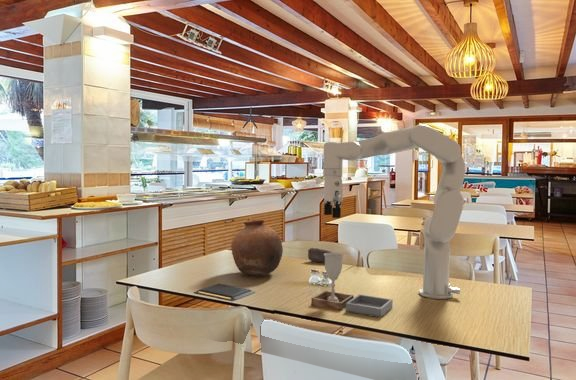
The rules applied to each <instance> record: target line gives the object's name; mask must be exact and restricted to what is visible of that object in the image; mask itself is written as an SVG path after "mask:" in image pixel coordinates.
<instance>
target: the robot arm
mask: <svg viewBox="0 0 576 380" xmlns="http://www.w3.org/2000/svg"><path fill="white" fill-rule="evenodd" d="M415 149H422V150H423V151H425V152H426V153H428V154H430V155H432V156H433V157H435V159H436V160H437V161H438V162H439V163H440V164H441V174H440V178H439V182H438V185H437V188H436V191H435V194H434V196H433V203H434V209H433V212H432V214H431V215H429V216H428V217H427V218H426V220H425V222H424V227H423V237H424V238H423V239H424V241H423V242H424V245H423V247H424V248H423V249H424V251H423V274H422V275H423V276H422V277H423V280H422V281H423V282H422V288H420V289H418V294H419V295H420V296H422V297H424V298H429V299H436V300H446V299H451V298H452V297H453V294H457V295H460V294H461V289H460V288H458V287H453V286H452V285H451V284H452V283H450V262H451V261H450V260H451V259H450V258H451V257H450V256H451V239H452V238H453V237H454V236H455V234H456V232H457V228H458V225H459V222H460V219H461V215H462V212H463V209H464V197H463V195H462V194H461V193H462V188H463V183H464V180H465V176H466V162H465V160H464V156H463V155H462V154H461V153H462V148H461V145H460V144H459V143H458V141H456V140H455V139H452V138H450V137H449V136H447V135H445V134H444V133H442V132H440V131H438V130H436V129H434V128H433V127H431V126H430V125H428V124H424V123H421V124H420V123H419V124H417V125H415V126H414V125H413V126H410V127H406V128H405V127H404V128H401V129H396V130H391V131H387V132H383V133H381V134H379V135H377V136H373V137H369V138H364V139H362V140H356V141H345V142H340V141H328V142H326V141H325V143H323V169H322V170H323V171H322V172H323V173H322V177H324V184H323V206H324V207H323V208H324V209H323V215H325V216H331V215H332V218H333V219H340V218H341V215H342V214H341V209H342V202H343V200H344V196H343V195H344V193H343V187H344V186H343V180H342V179H343V178H342V177H343V160H344V161H351V162H354V161H355V162H356V161H358V160H363V159H366V158H367V159H368V158H372V157H377V156H386V155H392V154H396V153H401V152H405V151H409V150H410V151H411V150H415Z"/></svg>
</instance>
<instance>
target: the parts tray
mask: <svg viewBox="0 0 576 380" xmlns="http://www.w3.org/2000/svg"><path fill="white" fill-rule="evenodd" d="M393 302H394V301H393V299H391V298H386V297H385V298H384V297H379V296H372V295H366V294H357V295H356V296H354V298H353V299H351V300H350V301H348V302H347V303H346V307H345V312H346V311H347V312H346V313H350V312H353V313H352V314H356V313H359V314H358V315H361V314H365V315H364V316H367V315H372V316H371V317H373V316H377V317H376V318H378V317H382V316H383V315H384V314H385V313H386V314H387V313H389V312H390V311H391V310H392V309H393ZM391 308H392V309H391ZM390 309H391V310H390ZM386 314H385V315H386ZM385 315H384V316H385ZM384 316H383V317H384ZM383 317H382V318H383Z"/></svg>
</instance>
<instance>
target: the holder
mask: <svg viewBox="0 0 576 380" xmlns="http://www.w3.org/2000/svg"><path fill="white" fill-rule="evenodd" d="M331 294H332V292H331V290H324V291H322V292H320V293H318V294H316V295H315V296H313V297H311V306H314V307H319V306H320V308H325V307H326V308H327V309H331V308H332V309H331V310H336V309H339V310H338V311H342V309H343V308H344V309H346V303H347V302H348V301H350V300H351V299H353V298H354V297H355V296H354V294H348V293H342V292H337V291H335V292H334V295H335V297H337V298H338V301H339V302H335V301H329V300H328V298H329V297H330V296H331ZM341 300H342V301H341ZM340 301H341V302H340ZM326 308H325V309H326ZM344 309H343V310H344Z"/></svg>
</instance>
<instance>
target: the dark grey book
mask: <svg viewBox="0 0 576 380" xmlns="http://www.w3.org/2000/svg"><path fill="white" fill-rule="evenodd" d="M192 293H193V294H196V295H199V296H200V295H201V296H206V297H210V298H214V299H215V298H216V299H219V300H225V301H229V302H234V301H238V300H240V299H242V298H245V297H249V296H251V295H253V294H255V293H256V291H254V290H251V289H249V288H245V287H239V286H233V285H230V284H229V285H228V284H223V283H216V284H213V285H210V286H207V287H204V288H201V289H198V290H197V291H194V292H192Z"/></svg>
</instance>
